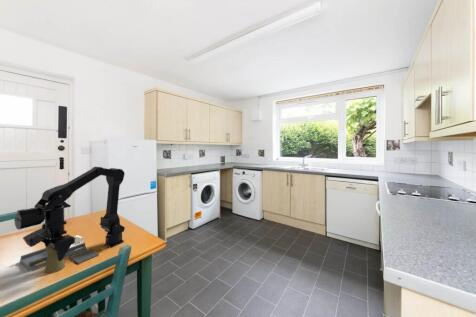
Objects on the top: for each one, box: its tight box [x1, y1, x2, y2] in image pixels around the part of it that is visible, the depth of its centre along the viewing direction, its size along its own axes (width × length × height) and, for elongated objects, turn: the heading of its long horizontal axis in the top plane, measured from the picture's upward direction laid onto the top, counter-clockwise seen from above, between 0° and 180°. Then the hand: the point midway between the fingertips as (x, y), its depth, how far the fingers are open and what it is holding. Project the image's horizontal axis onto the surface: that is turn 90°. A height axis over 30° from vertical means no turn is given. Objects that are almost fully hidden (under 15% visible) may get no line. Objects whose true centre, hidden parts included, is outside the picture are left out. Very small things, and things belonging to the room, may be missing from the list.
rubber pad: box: [69, 249, 100, 265], centre depth 86 cm, size 8×8×1 cm
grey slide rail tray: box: [19, 242, 87, 272], centre depth 86 cm, size 19×12×3 cm, turn 153°
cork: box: [44, 243, 66, 274], centre depth 77 cm, size 6×6×11 cm
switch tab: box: [70, 234, 84, 248], centre depth 90 cm, size 10×7×3 cm
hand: (55, 257), depth 77 cm, fingers open, 9 cm apart
